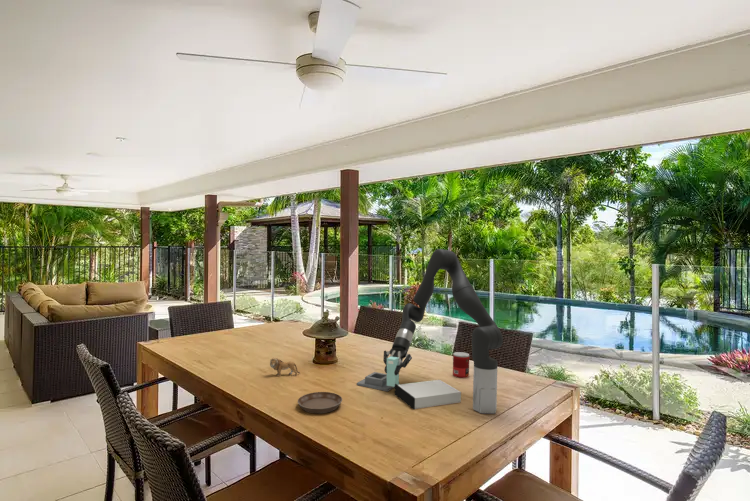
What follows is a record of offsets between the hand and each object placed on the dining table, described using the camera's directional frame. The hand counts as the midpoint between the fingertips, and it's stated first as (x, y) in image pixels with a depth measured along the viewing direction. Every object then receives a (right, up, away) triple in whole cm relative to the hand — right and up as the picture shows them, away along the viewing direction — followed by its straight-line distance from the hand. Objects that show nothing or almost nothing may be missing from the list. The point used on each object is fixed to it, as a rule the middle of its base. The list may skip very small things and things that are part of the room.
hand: (390, 373), depth 186 cm
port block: (-6, -8, +11) cm, 15 cm away
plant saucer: (-29, -9, -17) cm, 35 cm away
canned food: (+36, -9, +27) cm, 46 cm away
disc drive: (+15, -10, -5) cm, 19 cm away
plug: (+1, -6, +2) cm, 6 cm away
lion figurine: (-52, -8, +21) cm, 56 cm away
